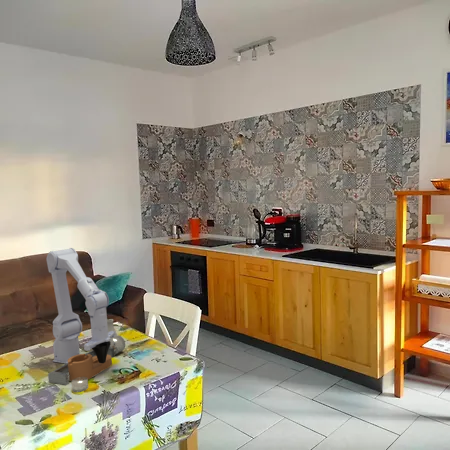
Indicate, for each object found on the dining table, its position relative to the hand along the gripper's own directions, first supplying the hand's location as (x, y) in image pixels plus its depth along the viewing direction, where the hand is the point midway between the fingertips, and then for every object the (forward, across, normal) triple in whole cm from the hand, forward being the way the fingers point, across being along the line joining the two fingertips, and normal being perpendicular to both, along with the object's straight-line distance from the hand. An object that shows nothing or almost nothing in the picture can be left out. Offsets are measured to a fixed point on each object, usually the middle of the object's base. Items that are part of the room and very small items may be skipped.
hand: (102, 362), depth 149 cm
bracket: (+4, -1, +5) cm, 6 cm away
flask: (+4, +25, +17) cm, 30 cm away
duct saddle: (+3, +2, +8) cm, 9 cm away
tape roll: (+3, -13, -1) cm, 14 cm away
